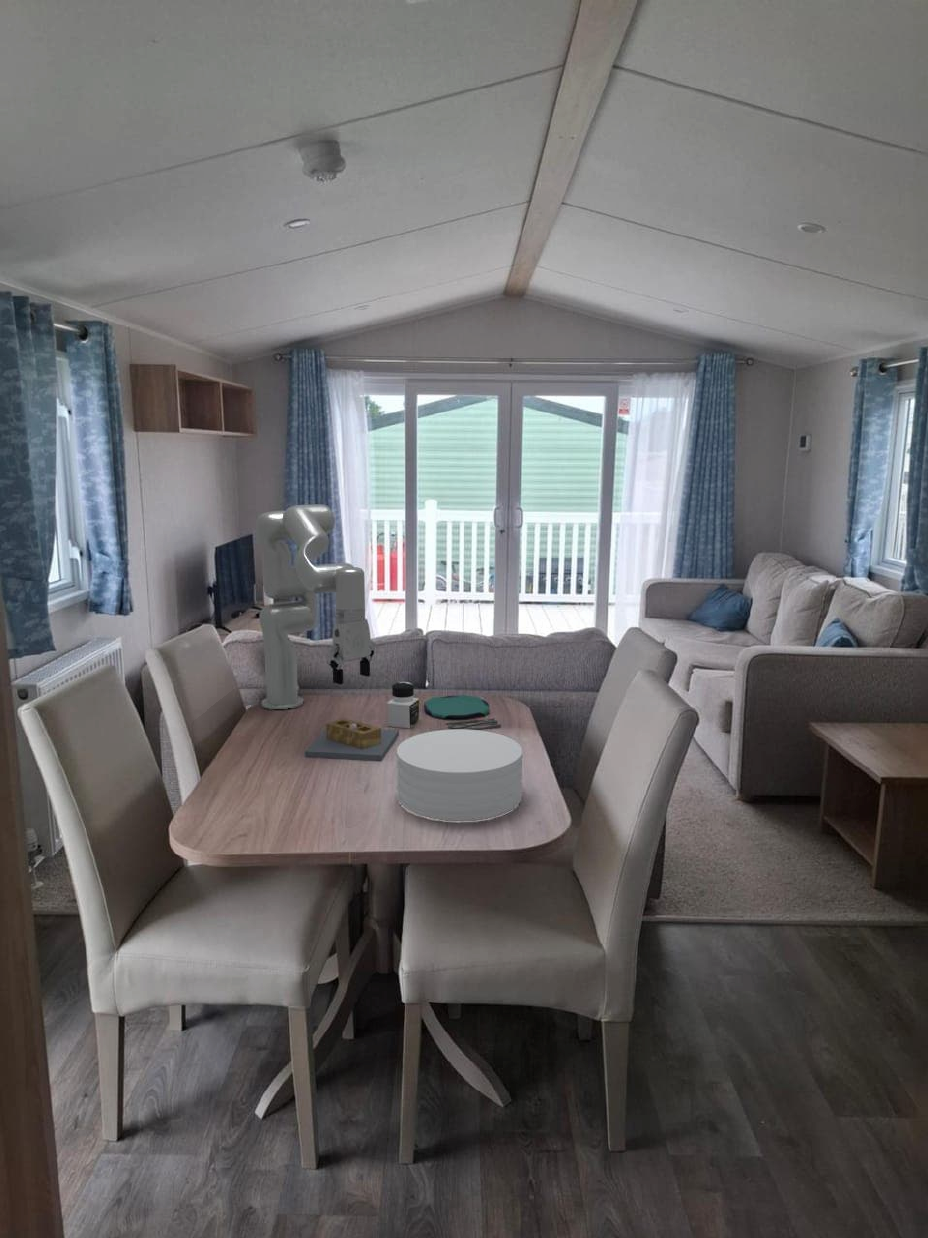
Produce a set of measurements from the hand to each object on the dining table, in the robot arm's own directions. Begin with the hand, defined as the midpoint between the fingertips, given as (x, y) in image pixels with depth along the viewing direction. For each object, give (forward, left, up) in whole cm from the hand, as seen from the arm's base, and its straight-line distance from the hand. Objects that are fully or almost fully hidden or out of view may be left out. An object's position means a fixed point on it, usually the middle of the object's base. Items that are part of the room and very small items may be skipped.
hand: (351, 679), depth 221 cm
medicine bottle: (-20, +9, -18) cm, 29 cm away
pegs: (0, 0, -17) cm, 17 cm away
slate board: (0, 0, -18) cm, 18 cm away
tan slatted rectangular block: (0, 0, -17) cm, 17 cm away
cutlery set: (-31, +24, -19) cm, 43 cm away
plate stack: (+29, +33, -19) cm, 48 cm away
